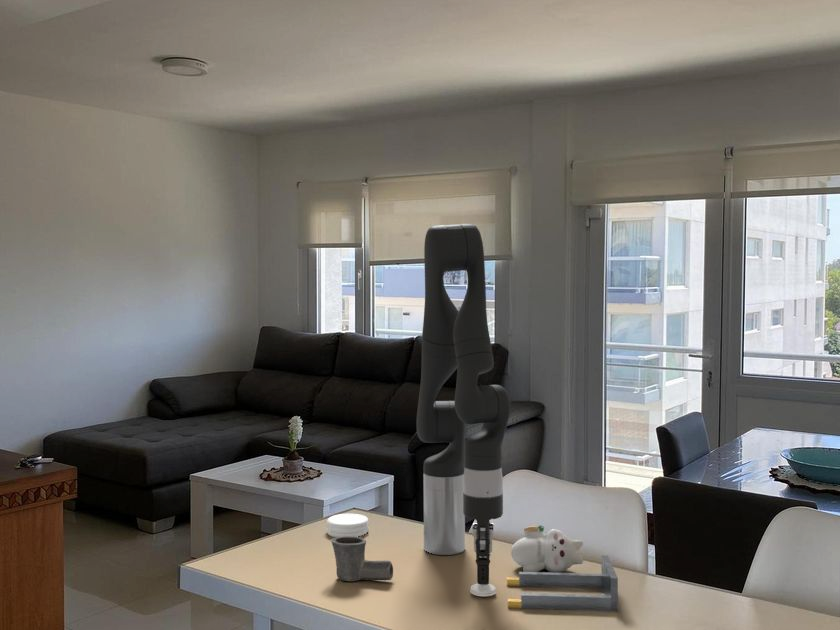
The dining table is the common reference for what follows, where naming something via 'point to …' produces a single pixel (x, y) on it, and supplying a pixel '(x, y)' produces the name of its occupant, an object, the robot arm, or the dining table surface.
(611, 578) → the bracket
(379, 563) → the pipe
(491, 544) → the robot arm
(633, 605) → the dining table surface
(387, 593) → the dining table surface
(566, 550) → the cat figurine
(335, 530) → the round white light
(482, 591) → the chess piece
